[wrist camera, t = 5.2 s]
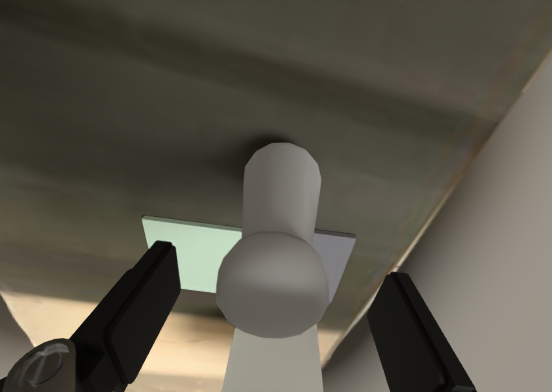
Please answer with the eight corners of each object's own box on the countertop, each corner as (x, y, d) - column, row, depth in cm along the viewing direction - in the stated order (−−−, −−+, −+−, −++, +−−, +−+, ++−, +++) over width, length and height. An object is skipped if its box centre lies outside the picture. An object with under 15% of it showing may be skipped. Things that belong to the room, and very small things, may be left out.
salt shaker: (330, 152, 18) (397, 296, 7) (299, 206, 21) (309, 372, 9) (262, 122, 17) (207, 229, 6) (239, 183, 20) (172, 335, 9)
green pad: (145, 215, 22) (141, 219, 22) (244, 228, 22) (242, 232, 22) (159, 281, 27) (157, 285, 27) (240, 291, 27) (239, 295, 27)
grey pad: (254, 221, 22) (253, 225, 21) (354, 234, 22) (356, 238, 21) (249, 287, 27) (248, 291, 26) (330, 297, 27) (331, 302, 26)
